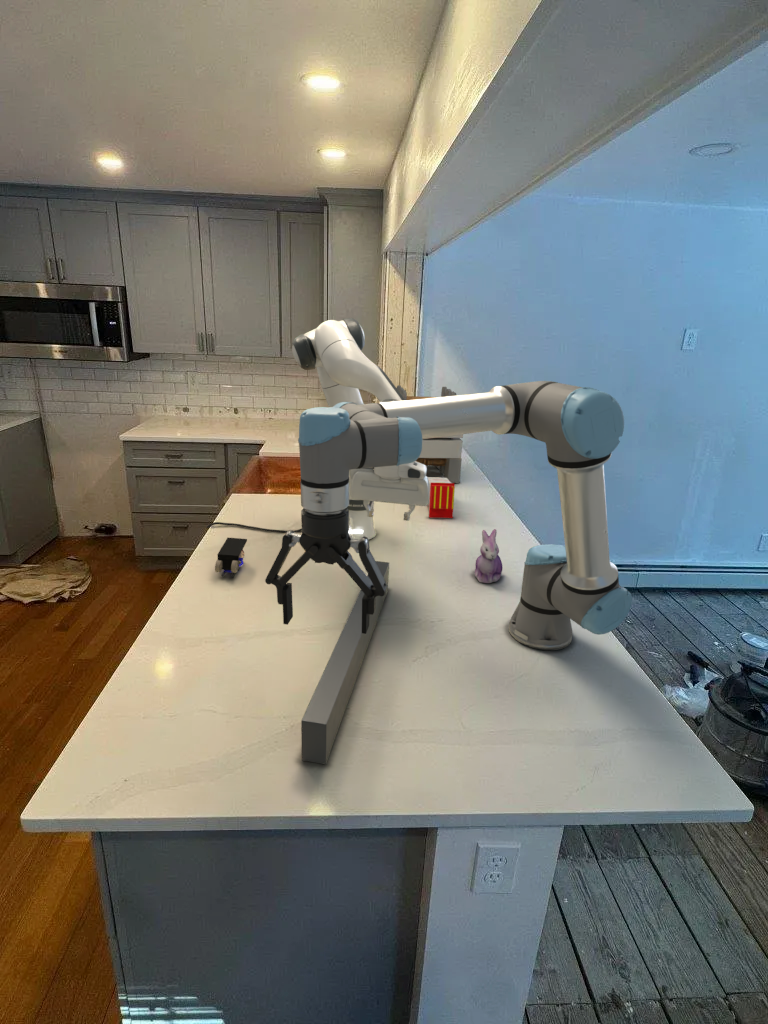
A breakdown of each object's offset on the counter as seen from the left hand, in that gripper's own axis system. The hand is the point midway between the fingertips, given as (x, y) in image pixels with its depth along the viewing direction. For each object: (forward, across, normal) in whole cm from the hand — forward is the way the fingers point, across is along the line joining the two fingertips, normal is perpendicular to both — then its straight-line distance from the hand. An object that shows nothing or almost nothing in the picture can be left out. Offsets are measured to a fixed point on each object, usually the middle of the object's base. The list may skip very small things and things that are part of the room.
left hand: (388, 518), depth 146 cm
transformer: (+25, +1, +129) cm, 131 cm away
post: (+24, -3, -27) cm, 36 cm away
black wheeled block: (+25, -46, +9) cm, 53 cm away
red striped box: (+24, +11, +81) cm, 86 cm away
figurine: (+24, +29, +20) cm, 43 cm away
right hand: (0, -4, -54) cm, 54 cm away
